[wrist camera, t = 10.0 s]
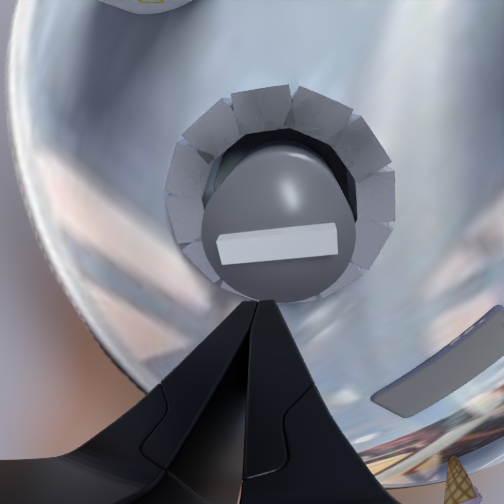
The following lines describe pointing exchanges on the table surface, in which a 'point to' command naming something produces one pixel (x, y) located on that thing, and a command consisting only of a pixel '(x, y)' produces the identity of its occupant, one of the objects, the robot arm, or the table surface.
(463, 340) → the smartphone
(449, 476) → the ice cream cone
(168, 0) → the grey cylinder
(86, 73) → the table surface
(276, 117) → the segmented grey ring
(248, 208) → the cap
